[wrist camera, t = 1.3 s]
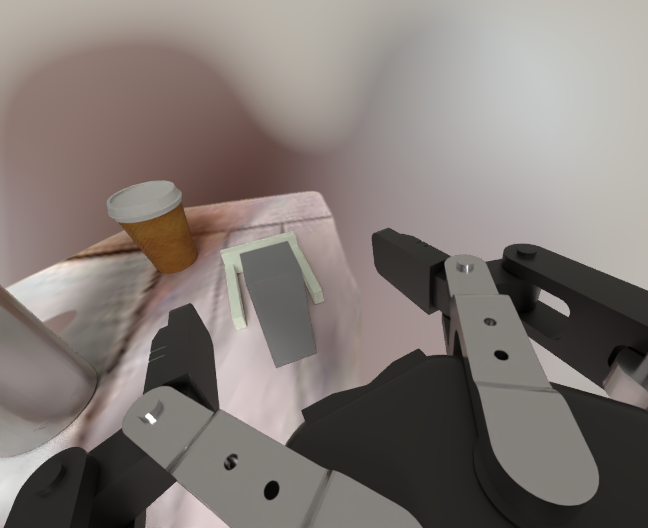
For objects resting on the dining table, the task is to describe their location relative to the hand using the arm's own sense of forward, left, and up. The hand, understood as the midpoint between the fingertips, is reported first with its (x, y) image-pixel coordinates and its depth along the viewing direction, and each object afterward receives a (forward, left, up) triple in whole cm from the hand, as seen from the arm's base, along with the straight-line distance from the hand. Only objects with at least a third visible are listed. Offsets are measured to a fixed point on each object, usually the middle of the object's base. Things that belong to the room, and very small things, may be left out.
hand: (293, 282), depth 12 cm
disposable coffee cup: (-32, +17, -19) cm, 41 cm away
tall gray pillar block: (-7, +8, -18) cm, 21 cm away
